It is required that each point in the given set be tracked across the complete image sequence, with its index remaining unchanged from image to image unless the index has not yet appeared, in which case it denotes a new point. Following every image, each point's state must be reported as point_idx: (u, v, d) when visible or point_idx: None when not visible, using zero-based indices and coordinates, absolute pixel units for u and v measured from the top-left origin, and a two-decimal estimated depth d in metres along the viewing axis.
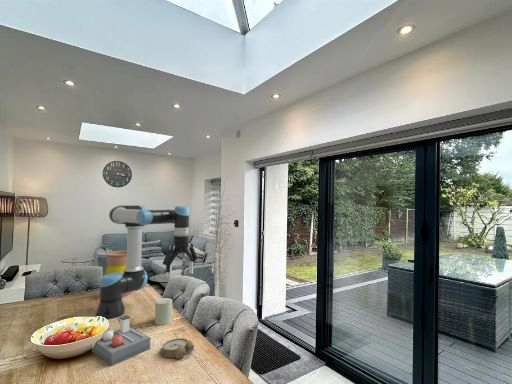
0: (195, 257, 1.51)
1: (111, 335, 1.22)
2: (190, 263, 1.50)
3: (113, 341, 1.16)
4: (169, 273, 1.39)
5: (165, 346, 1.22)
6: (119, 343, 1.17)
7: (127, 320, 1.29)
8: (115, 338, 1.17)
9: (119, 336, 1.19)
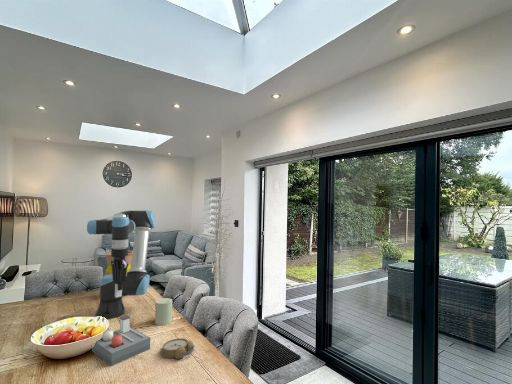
0: (119, 279, 1.32)
1: (111, 335, 1.22)
2: None
3: (113, 341, 1.16)
4: None
5: (165, 346, 1.22)
6: (119, 343, 1.17)
7: (127, 320, 1.29)
8: (115, 338, 1.17)
9: (119, 336, 1.19)
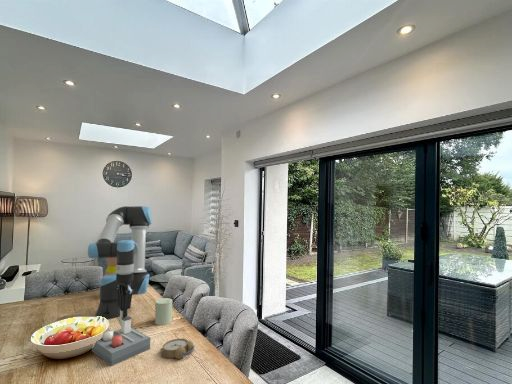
0: (124, 306, 1.28)
1: (111, 335, 1.22)
2: None
3: (113, 341, 1.16)
4: None
5: (165, 346, 1.22)
6: (119, 343, 1.17)
7: (128, 320, 1.29)
8: (115, 338, 1.17)
9: (119, 336, 1.19)
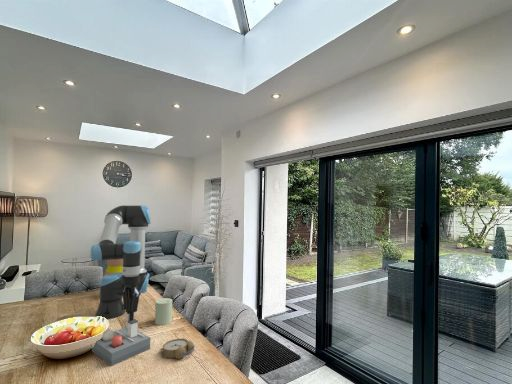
0: (131, 309, 1.25)
1: (111, 335, 1.22)
2: None
3: (113, 341, 1.16)
4: None
5: (165, 346, 1.22)
6: (119, 343, 1.17)
7: (135, 324, 1.25)
8: (115, 338, 1.17)
9: (119, 336, 1.19)
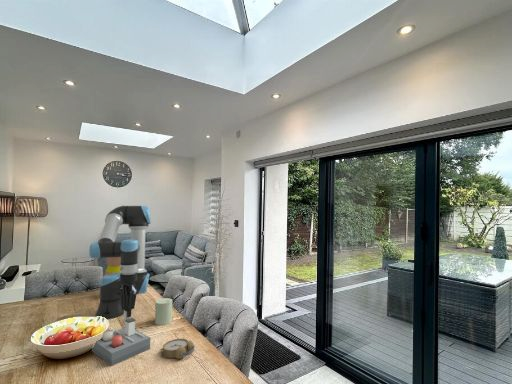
0: (128, 306, 1.27)
1: (111, 335, 1.22)
2: None
3: (113, 341, 1.16)
4: None
5: (166, 346, 1.22)
6: (119, 343, 1.17)
7: (132, 322, 1.26)
8: (115, 338, 1.17)
9: (119, 336, 1.19)
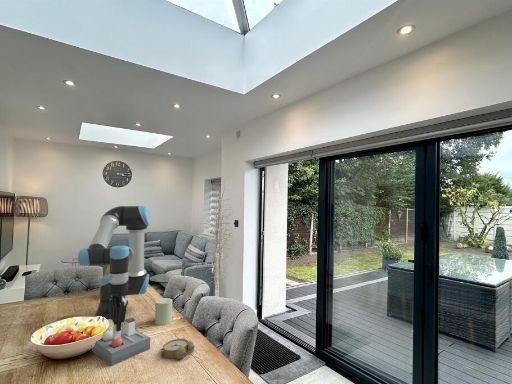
0: (117, 319, 1.16)
1: (111, 335, 1.22)
2: None
3: (113, 342, 1.16)
4: None
5: (166, 346, 1.21)
6: (119, 344, 1.17)
7: (132, 322, 1.26)
8: (115, 339, 1.17)
9: None
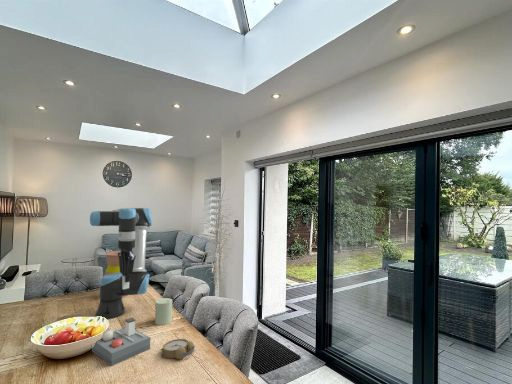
0: (126, 271, 1.31)
1: (111, 335, 1.22)
2: None
3: (113, 345, 1.16)
4: None
5: (166, 346, 1.21)
6: None
7: (132, 322, 1.26)
8: (115, 342, 1.17)
9: (119, 340, 1.19)
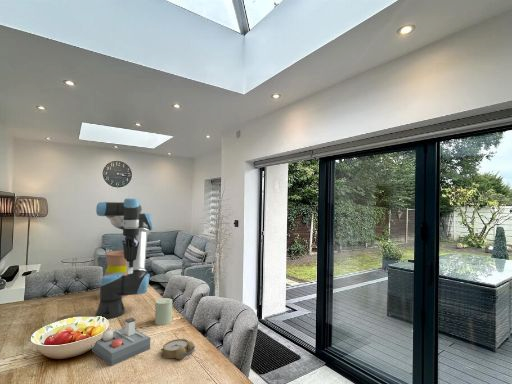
0: (130, 257, 1.40)
1: (111, 335, 1.22)
2: None
3: (113, 345, 1.16)
4: None
5: (166, 346, 1.21)
6: None
7: (132, 322, 1.26)
8: (115, 342, 1.17)
9: (119, 340, 1.19)
